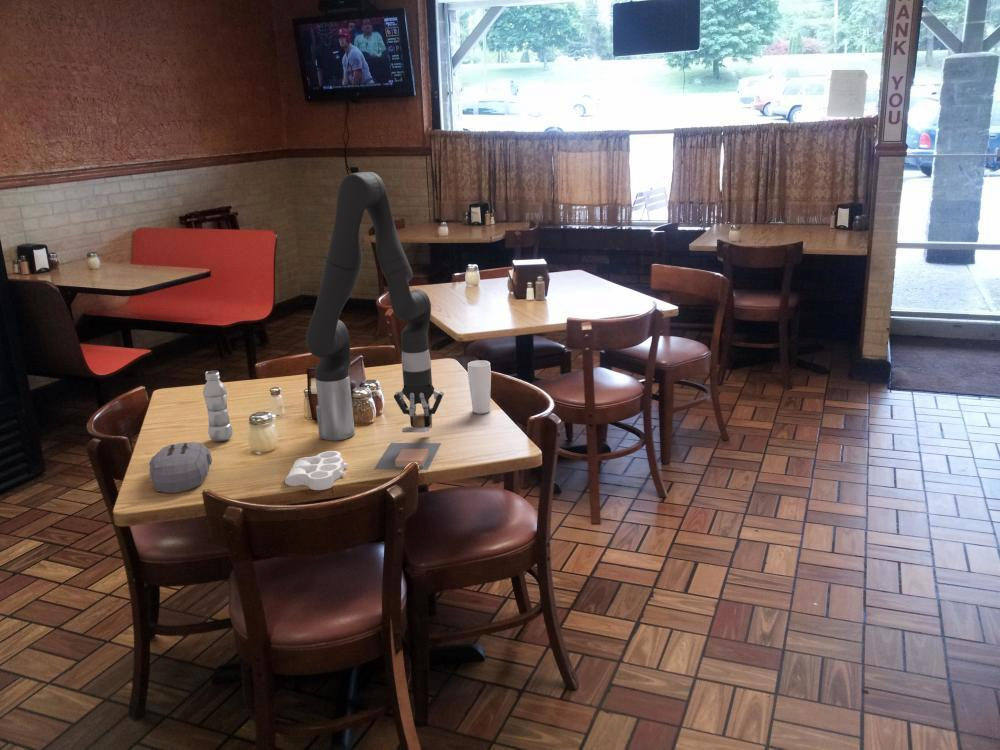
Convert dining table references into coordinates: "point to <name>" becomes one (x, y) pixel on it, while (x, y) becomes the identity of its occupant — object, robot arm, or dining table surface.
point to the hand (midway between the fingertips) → (421, 427)
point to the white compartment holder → (317, 470)
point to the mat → (395, 448)
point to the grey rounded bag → (180, 467)
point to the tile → (412, 457)
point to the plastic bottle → (217, 407)
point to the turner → (418, 424)
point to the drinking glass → (480, 385)
